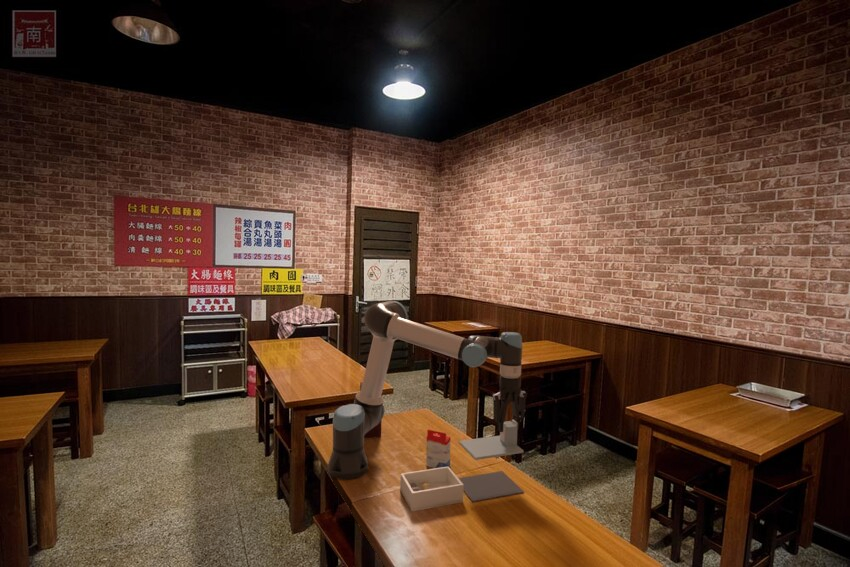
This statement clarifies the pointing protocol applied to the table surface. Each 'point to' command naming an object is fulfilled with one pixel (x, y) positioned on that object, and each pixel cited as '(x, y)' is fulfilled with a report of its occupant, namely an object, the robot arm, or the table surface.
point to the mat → (489, 486)
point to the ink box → (437, 449)
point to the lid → (493, 444)
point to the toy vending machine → (374, 431)
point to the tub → (431, 488)
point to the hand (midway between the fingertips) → (508, 439)
